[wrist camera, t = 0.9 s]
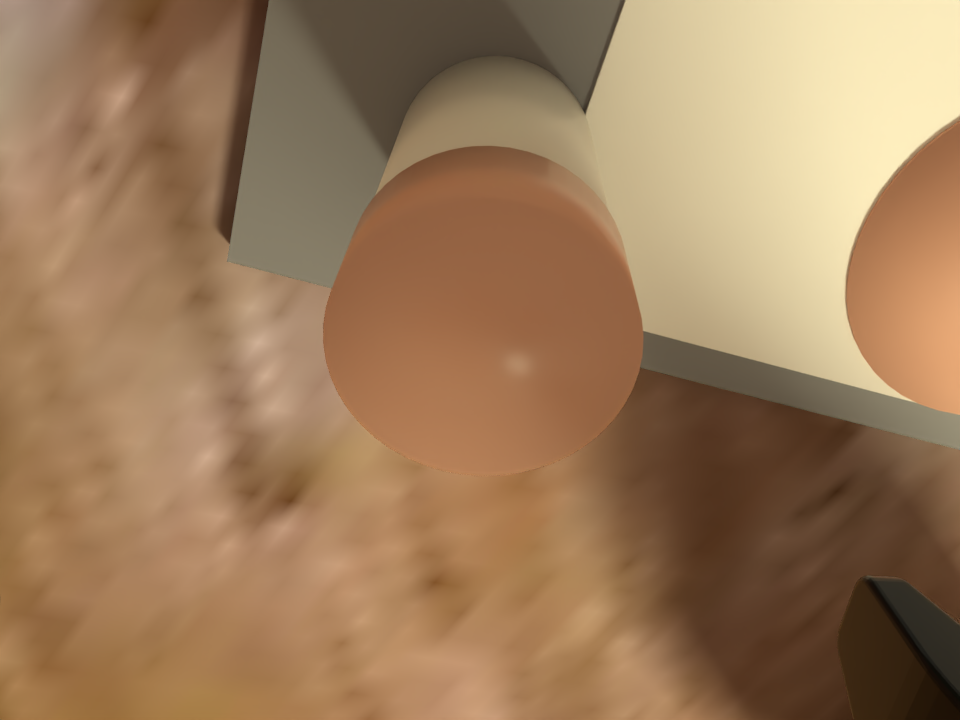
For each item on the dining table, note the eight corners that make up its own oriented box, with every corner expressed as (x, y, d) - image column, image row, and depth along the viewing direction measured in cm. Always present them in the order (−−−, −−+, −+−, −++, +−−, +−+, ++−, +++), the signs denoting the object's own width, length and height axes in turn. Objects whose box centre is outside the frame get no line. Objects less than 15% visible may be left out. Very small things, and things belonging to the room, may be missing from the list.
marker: (627, 86, 18) (694, 251, 11) (558, 271, 20) (580, 505, 13) (421, 23, 18) (360, 154, 11) (373, 218, 20) (296, 434, 13)
